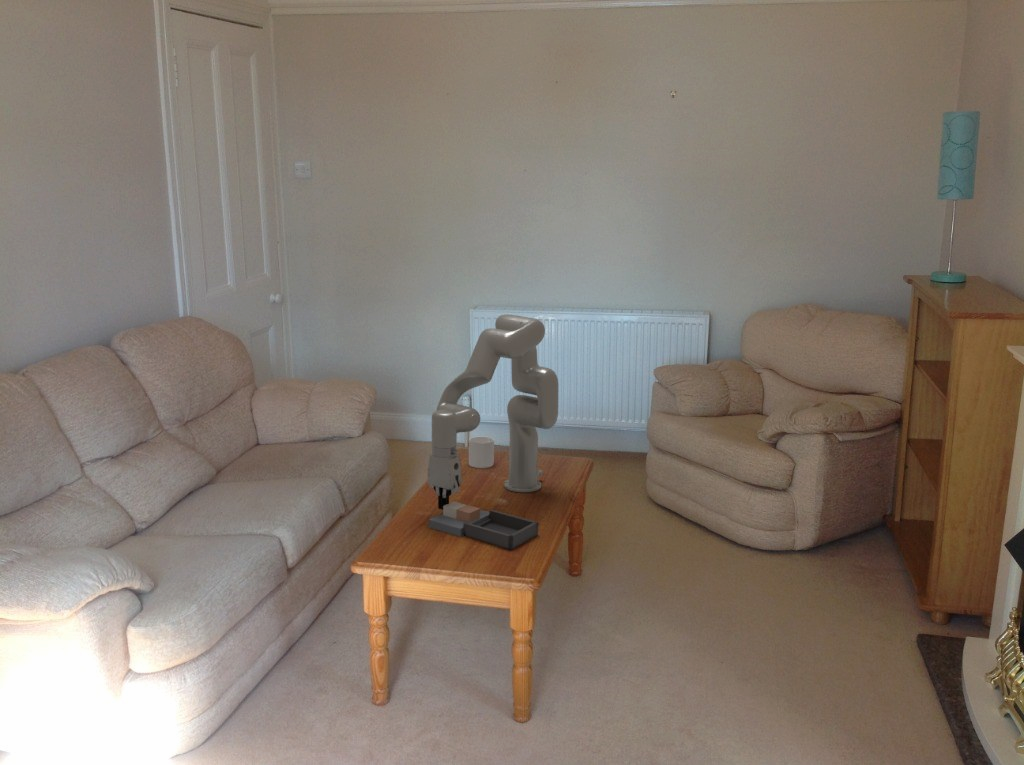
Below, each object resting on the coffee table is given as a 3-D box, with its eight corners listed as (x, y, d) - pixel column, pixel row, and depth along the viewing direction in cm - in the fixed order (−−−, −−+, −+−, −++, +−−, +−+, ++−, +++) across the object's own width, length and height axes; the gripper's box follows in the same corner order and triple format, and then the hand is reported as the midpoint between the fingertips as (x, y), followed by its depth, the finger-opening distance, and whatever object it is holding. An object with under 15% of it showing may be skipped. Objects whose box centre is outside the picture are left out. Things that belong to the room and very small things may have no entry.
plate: (461, 512, 302) (461, 504, 301) (492, 520, 295) (492, 513, 294) (428, 527, 289) (428, 519, 288) (460, 536, 282) (460, 528, 282)
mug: (492, 469, 344) (492, 444, 341) (466, 467, 344) (467, 442, 342) (495, 458, 355) (496, 434, 353) (471, 457, 356) (471, 433, 354)
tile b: (466, 514, 293) (466, 504, 292) (479, 517, 290) (479, 508, 290) (456, 518, 289) (456, 509, 288) (469, 522, 286) (469, 513, 286)
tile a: (453, 510, 296) (453, 501, 295) (466, 514, 293) (466, 504, 292) (443, 515, 292) (443, 505, 291) (456, 518, 289) (456, 509, 288)
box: (491, 521, 294) (491, 509, 293) (537, 535, 285) (538, 522, 284) (463, 535, 283) (463, 523, 282) (510, 550, 273) (511, 536, 273)
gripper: (471, 452, 289) (470, 510, 293) (432, 443, 298) (432, 499, 302) (455, 458, 283) (455, 517, 287) (416, 449, 292) (416, 506, 296)
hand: (443, 508), depth 295 cm, fingers closed
